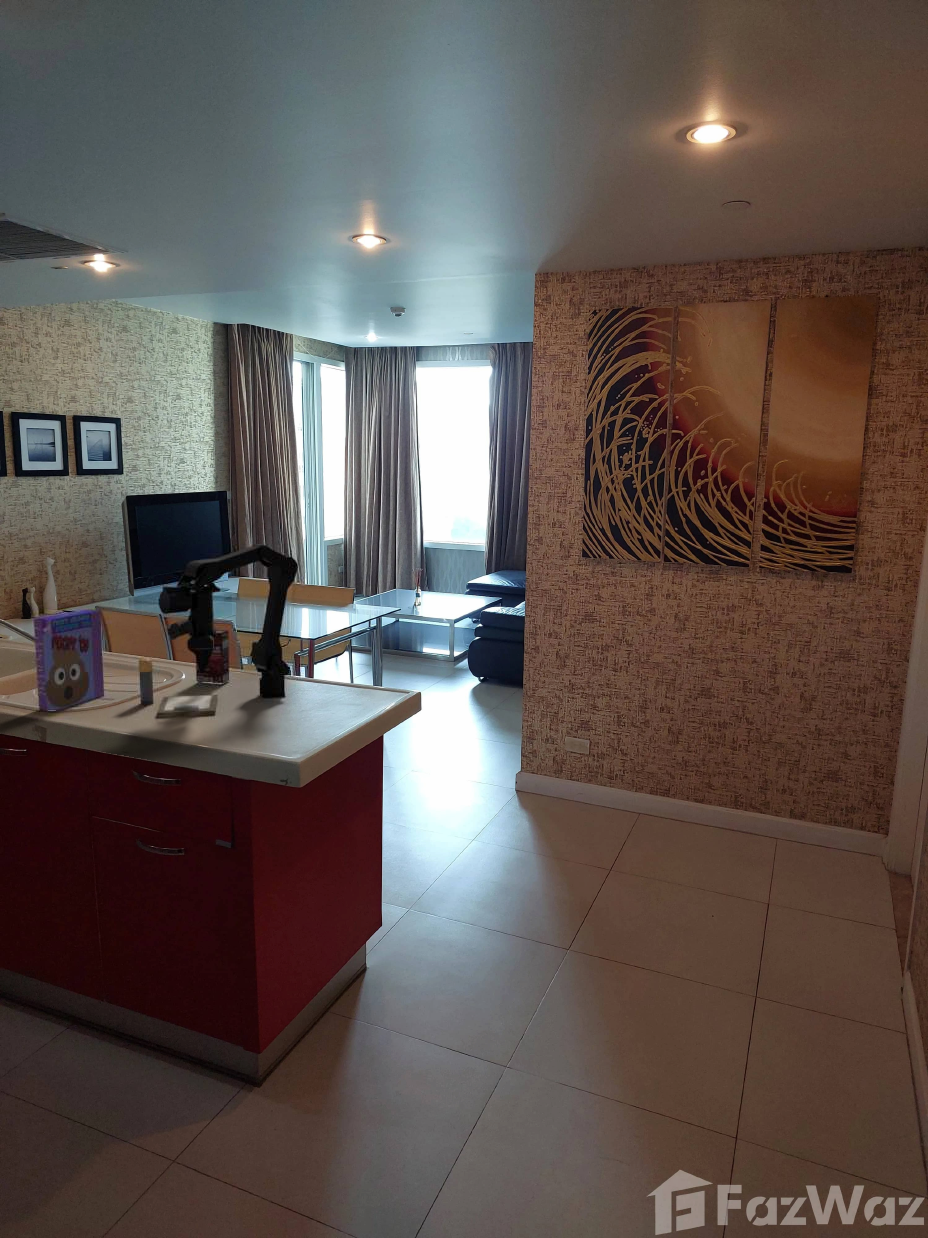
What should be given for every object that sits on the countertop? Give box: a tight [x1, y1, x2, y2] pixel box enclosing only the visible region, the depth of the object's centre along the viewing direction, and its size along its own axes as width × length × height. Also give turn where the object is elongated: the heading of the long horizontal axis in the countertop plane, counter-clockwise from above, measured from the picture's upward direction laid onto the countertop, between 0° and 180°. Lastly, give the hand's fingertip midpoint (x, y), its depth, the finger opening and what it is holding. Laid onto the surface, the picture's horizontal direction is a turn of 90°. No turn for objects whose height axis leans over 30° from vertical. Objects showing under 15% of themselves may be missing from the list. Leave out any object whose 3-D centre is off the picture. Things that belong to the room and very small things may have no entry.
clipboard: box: [156, 694, 218, 718], centre depth 212 cm, size 14×16×2 cm
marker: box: [138, 657, 154, 706], centre depth 214 cm, size 3×3×12 cm
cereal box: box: [33, 608, 105, 711], centre depth 212 cm, size 17×5×24 cm, turn 162°
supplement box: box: [195, 629, 230, 684], centre depth 238 cm, size 9×5×16 cm, turn 81°
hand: (203, 669), depth 209 cm, fingers open, 8 cm apart
